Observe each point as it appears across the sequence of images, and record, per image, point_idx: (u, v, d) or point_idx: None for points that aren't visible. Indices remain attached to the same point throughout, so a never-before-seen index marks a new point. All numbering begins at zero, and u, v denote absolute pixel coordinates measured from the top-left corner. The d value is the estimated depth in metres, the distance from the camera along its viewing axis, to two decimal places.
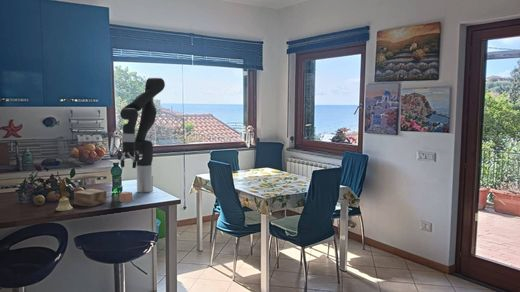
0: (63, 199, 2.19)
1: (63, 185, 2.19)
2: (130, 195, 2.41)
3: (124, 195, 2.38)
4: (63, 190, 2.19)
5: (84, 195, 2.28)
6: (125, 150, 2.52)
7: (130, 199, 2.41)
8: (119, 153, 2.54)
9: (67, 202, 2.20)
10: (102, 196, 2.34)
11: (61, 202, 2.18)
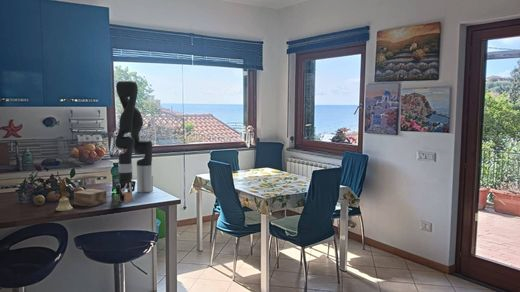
0: (63, 199, 2.19)
1: (63, 185, 2.19)
2: (130, 195, 2.41)
3: (124, 195, 2.38)
4: (63, 190, 2.19)
5: (85, 195, 2.28)
6: (125, 181, 2.38)
7: (130, 199, 2.41)
8: (120, 187, 2.35)
9: (67, 202, 2.20)
10: (102, 196, 2.35)
11: (61, 202, 2.18)
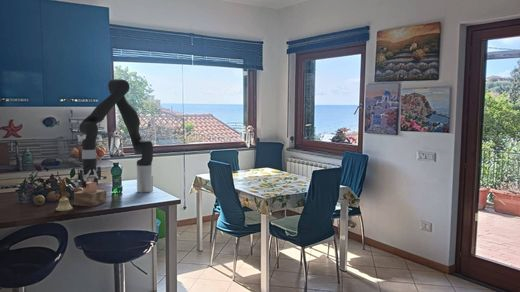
0: (63, 199, 2.19)
1: (63, 185, 2.19)
2: (94, 185, 2.33)
3: (88, 185, 2.31)
4: (63, 190, 2.19)
5: (86, 196, 2.28)
6: (88, 168, 2.31)
7: (94, 189, 2.34)
8: (82, 173, 2.27)
9: (67, 202, 2.20)
10: (102, 196, 2.35)
11: (61, 202, 2.18)
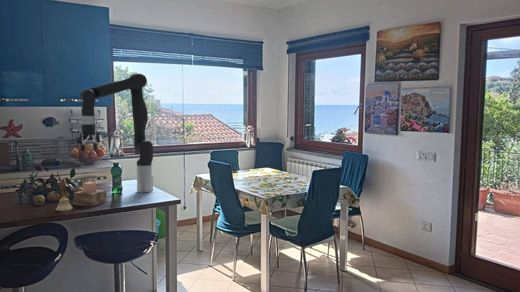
0: (63, 199, 2.19)
1: (63, 185, 2.19)
2: (94, 185, 2.33)
3: (87, 185, 2.31)
4: (63, 190, 2.19)
5: (86, 196, 2.28)
6: (87, 133, 2.43)
7: (94, 189, 2.34)
8: (81, 137, 2.40)
9: (67, 202, 2.20)
10: (102, 196, 2.35)
11: (61, 202, 2.18)
